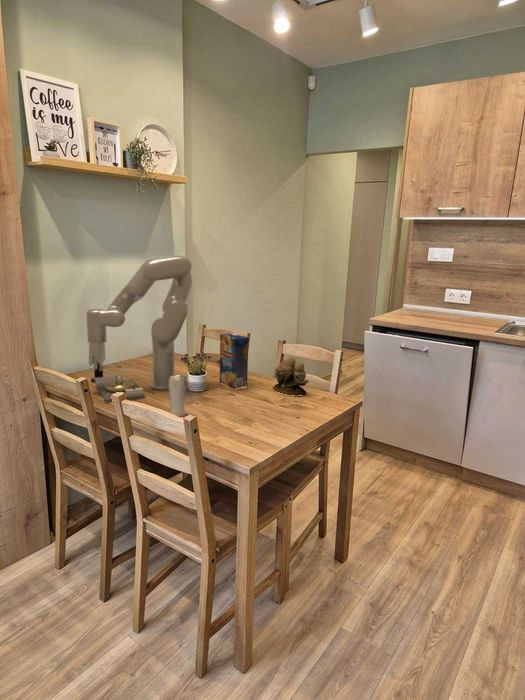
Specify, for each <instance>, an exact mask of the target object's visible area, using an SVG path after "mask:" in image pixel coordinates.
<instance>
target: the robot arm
mask: <svg viewBox="0 0 525 700" xmlns="http://www.w3.org/2000/svg"><path fill="white" fill-rule="evenodd" d="M191 270H192V262H191V260H189V258H187V257H186V256H183V255H174V256H171V257H170V258H164V259H163V258H162V259H153V258H152V259H151V258H150V259H147V260H146V261H144V262H143V263H142V264H141V266H140V267H139V268H138V270H137V271H136V272H135V274H134V275H133V276H132V278H131V279H130V280H129V281H128V282H127V284H126V285H125V286H124V287H123V288H122V290H121V291H120V292H119V293H118V295H116V297H115V298H114V299H113V300H112V302H111V304H109V306H108V307H107V309H106V310H104V309H101V308H90V309H88V310H87V311H86V330H87V343H89V344H88V365H89V366H92V365H93V372H94V377H100V376H104V370H103V369H104V367H103V365H104V362H105V361H106V345H105V343H107V342H108V341H107V327H109V328H111V327H112V328H119V327H121V326H123V325H124V323H125V322H126V317H125V315H126V313H127V312H128V311H129V310H130V308H131V307H132V306H133V305H134V304H135V303H137V302H139V301H140V300H142V299H143V298H144V297H145V296H146V294H147V293H148V292H149V290H150V289H151V288H152V286H153V285H155V283H156V281H165V280H170V279H171V280H172V282H171V285H170V288H169V290H168V291H167V295H166V297H165V299H164V301H163V303H162V306H161V307H162V312H163V314H162V317H159V318H156V319H155V320H154V321H153V322H152V324H151V329H150V331H151V332H150V333H151V334H150V335H151V341H152V376H153V377H152V378H153V379H152V380H153V381H151V382H150V383H149V387H150V388H151V389H154V390H159V391H160V390H161V391H164V390H165V391H168V380H169V377H170V376H173V375H175V344H174V343H175V341H176V339H177V338H178V336H179V334H180V332H181V330H182V328H183V325H184V323H185V321H186V318H187V315H188V310H189V309H188V305H187V303H186V302H187V299H188V297H189V295H190V292H191V288H192V283H193V280H192V279H193V278H192V273H191Z"/></svg>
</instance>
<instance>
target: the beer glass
mask: <svg viewBox="0 0 525 700" xmlns="http://www.w3.org/2000/svg"><path fill="white" fill-rule="evenodd" d="M187 387H188V385H187V377H186V375H181V374H174V375H173V376H170V377H169V380H168V390H167V392H168V398H169V404H170V412H169V414H170V413H172V414H174V415H176V416H181V417H180V418H183V417H184V416H185V415H186V409H185V408H186V407H185V406H186V405H185V404H186V396H187Z"/></svg>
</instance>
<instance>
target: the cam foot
mask: <svg viewBox="0 0 525 700" xmlns="http://www.w3.org/2000/svg"><path fill="white" fill-rule="evenodd" d="M90 382H91V383H92V384H95V385H96V383H106V384H105V390H106V391H108V392H114V393H116V392H125V390H127V389H133V388H134V383H133V382H132V381H130V380H129V379H124V376H123V374H116V375H114V374H113V375H103V376H100V377H95V376H93V377H92V378H90Z"/></svg>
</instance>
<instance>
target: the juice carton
mask: <svg viewBox="0 0 525 700" xmlns="http://www.w3.org/2000/svg"><path fill="white" fill-rule="evenodd" d="M219 337H220V338H219V384H220V383H223V384H225V385H227V386H229V387H231V388H233V389H237V388H241V387H245V386H247V387H248V369H249V367H248V366H249V364H248V363H249V337H248V336H245V335H241V334H237V333H234V332H231V333H222V334H219Z"/></svg>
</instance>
